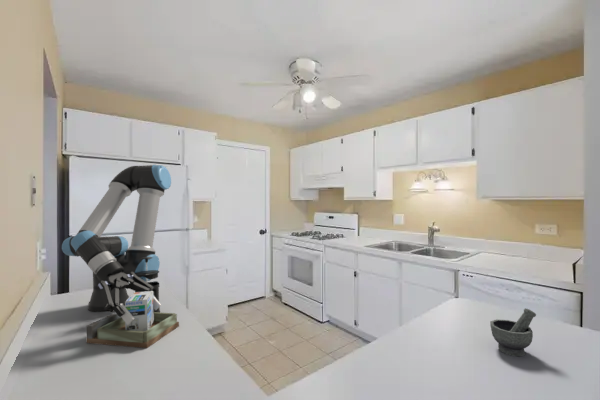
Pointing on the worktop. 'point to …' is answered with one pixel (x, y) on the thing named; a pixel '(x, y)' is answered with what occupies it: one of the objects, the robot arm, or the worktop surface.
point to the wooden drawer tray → (115, 334)
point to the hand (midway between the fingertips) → (145, 314)
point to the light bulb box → (140, 310)
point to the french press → (151, 275)
